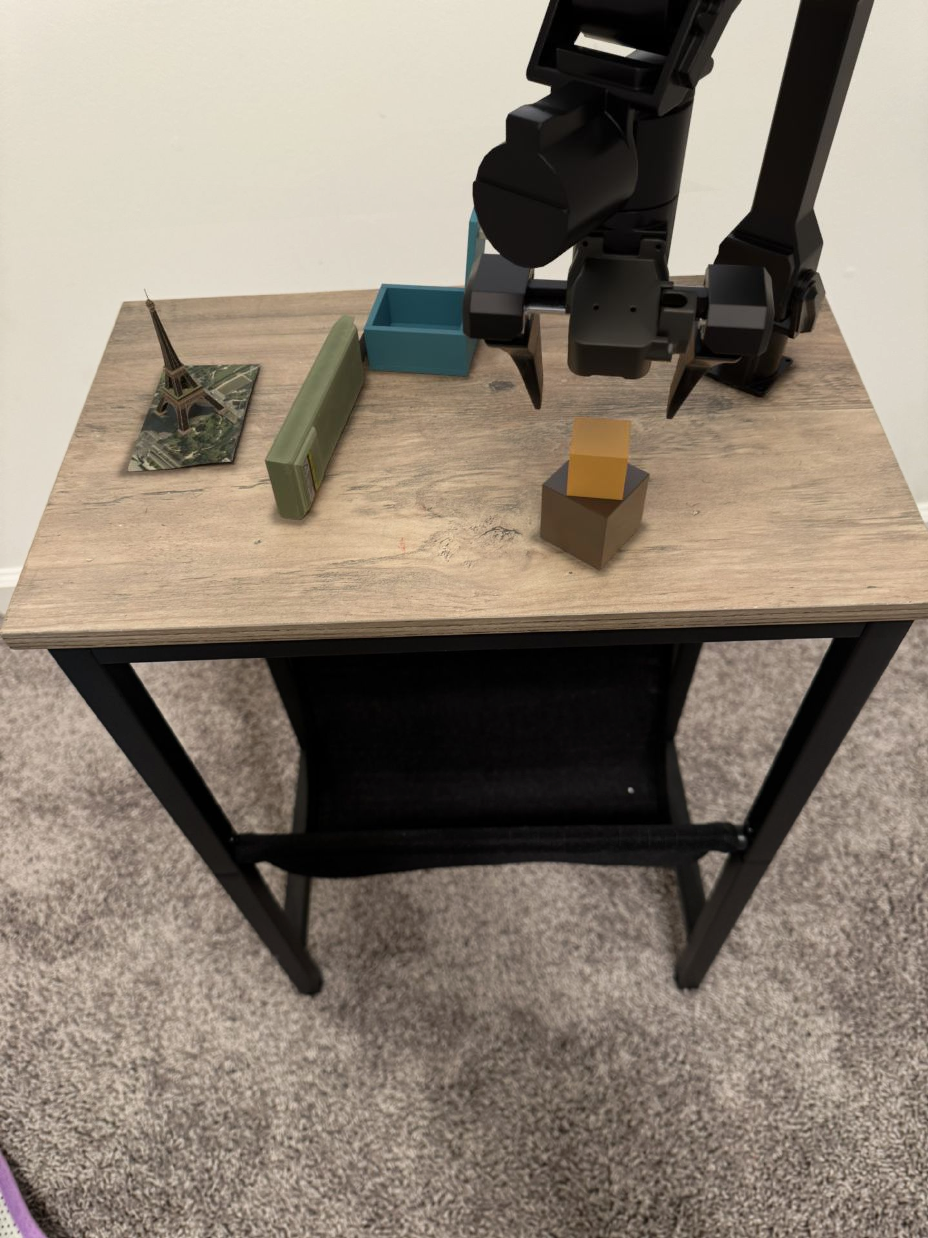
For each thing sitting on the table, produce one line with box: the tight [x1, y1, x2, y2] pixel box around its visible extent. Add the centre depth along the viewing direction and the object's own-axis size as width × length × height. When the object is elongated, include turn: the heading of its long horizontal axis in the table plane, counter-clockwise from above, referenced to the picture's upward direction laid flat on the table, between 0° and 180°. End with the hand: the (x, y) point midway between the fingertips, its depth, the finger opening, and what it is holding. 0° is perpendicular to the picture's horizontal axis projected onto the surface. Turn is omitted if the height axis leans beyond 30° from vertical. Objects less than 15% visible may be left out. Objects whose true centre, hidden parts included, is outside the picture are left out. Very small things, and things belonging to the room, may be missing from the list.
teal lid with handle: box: [462, 206, 488, 331], centre depth 76 cm, size 11×8×6 cm
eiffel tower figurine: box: [126, 288, 261, 473], centre depth 75 cm, size 15×10×13 cm
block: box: [567, 416, 632, 500], centre depth 62 cm, size 4×4×4 cm
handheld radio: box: [264, 314, 368, 521], centre depth 76 cm, size 7×3×25 cm
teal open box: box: [363, 283, 478, 377], centre depth 83 cm, size 10×8×5 cm
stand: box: [539, 459, 651, 571], centre depth 66 cm, size 6×6×6 cm
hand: (603, 410), depth 59 cm, fingers open, 9 cm apart
